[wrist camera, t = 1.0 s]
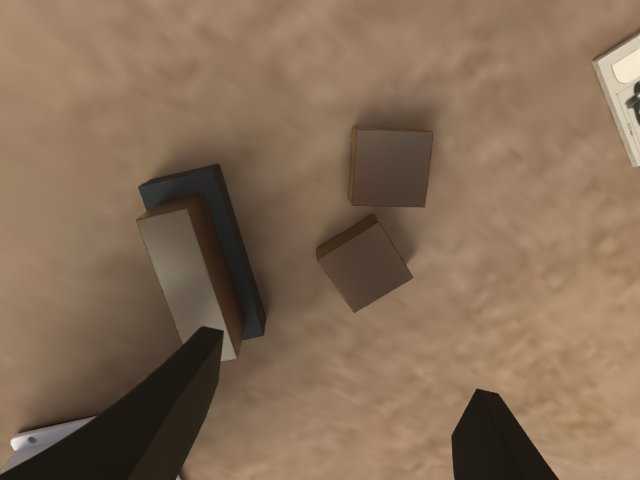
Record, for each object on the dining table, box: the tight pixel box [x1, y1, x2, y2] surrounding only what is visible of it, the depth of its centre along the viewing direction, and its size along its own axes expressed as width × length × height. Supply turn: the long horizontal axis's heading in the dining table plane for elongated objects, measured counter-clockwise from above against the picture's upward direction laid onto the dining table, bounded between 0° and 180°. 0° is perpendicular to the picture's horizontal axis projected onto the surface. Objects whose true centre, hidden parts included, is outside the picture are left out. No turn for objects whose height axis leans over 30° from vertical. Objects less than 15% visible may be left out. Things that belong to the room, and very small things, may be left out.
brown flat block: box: [348, 127, 433, 207], centre depth 24 cm, size 4×4×2 cm
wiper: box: [136, 164, 266, 362], centre depth 23 cm, size 4×10×6 cm, turn 13°
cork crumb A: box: [316, 214, 413, 313], centre depth 26 cm, size 4×4×2 cm
